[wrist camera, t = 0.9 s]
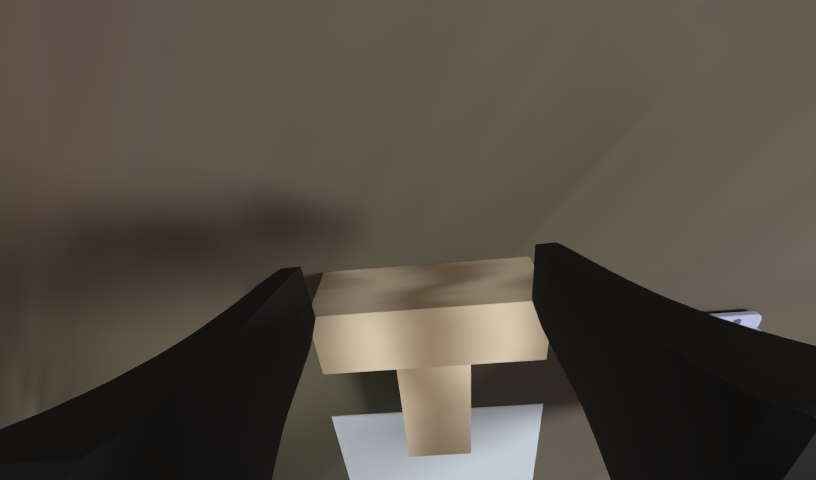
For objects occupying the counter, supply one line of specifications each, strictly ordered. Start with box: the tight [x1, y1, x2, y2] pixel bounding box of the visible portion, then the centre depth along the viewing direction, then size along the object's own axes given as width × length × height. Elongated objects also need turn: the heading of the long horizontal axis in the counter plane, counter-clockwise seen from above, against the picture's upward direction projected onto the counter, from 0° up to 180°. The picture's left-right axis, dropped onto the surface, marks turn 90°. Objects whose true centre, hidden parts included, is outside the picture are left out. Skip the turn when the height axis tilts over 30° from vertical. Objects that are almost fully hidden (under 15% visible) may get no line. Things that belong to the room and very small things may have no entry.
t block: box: [312, 257, 549, 457], centre depth 22 cm, size 12×12×4 cm
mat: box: [332, 403, 543, 480], centre depth 31 cm, size 16×16×1 cm
